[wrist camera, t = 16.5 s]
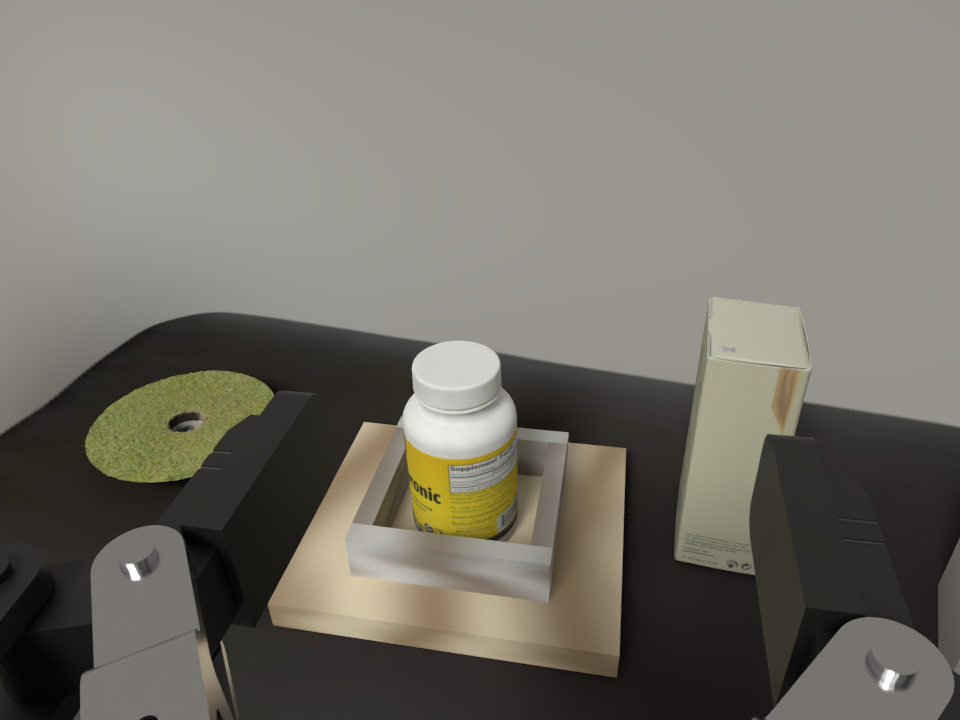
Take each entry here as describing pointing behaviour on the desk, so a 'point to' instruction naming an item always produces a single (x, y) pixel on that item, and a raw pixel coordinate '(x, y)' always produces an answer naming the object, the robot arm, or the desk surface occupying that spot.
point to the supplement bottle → (461, 443)
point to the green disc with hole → (172, 424)
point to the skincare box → (737, 424)
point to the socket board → (468, 560)
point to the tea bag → (950, 612)
